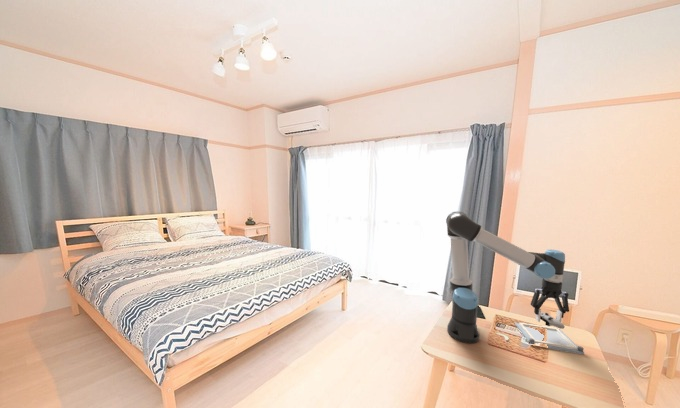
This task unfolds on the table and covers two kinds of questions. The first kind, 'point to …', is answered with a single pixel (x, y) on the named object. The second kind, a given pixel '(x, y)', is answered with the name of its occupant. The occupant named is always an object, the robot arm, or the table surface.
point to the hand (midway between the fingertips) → (547, 321)
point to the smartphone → (480, 313)
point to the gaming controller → (551, 321)
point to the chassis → (550, 338)
